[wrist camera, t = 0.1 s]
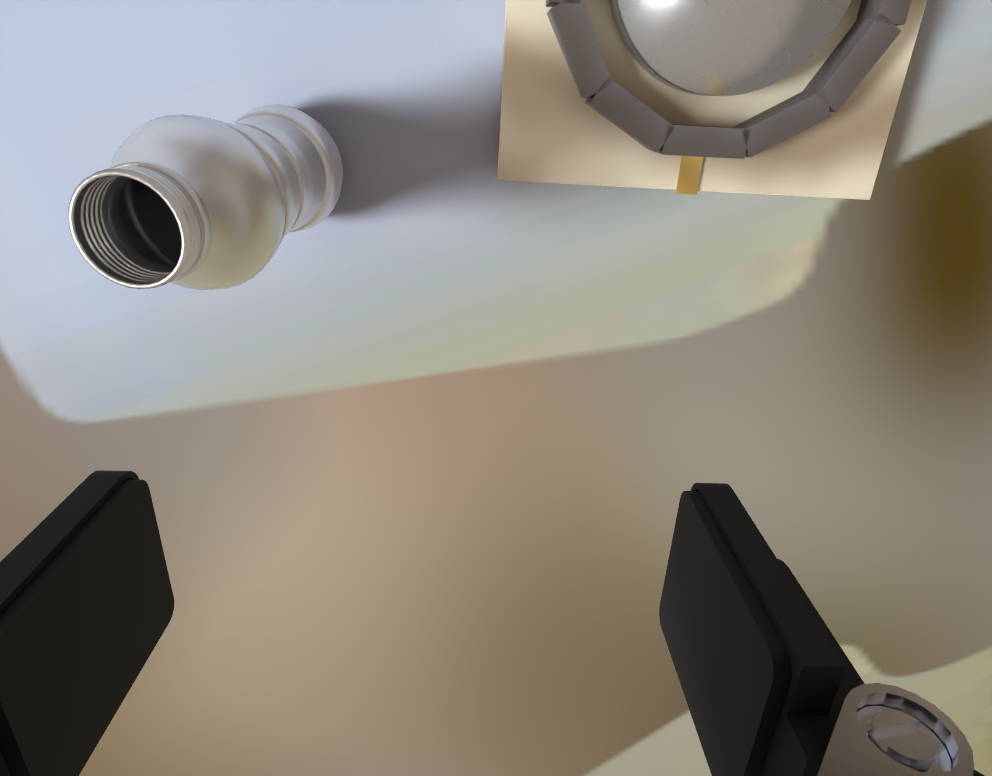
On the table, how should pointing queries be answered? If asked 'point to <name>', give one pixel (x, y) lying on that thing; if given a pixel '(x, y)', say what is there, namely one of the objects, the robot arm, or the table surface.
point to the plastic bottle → (205, 198)
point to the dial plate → (697, 108)
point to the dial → (724, 40)
